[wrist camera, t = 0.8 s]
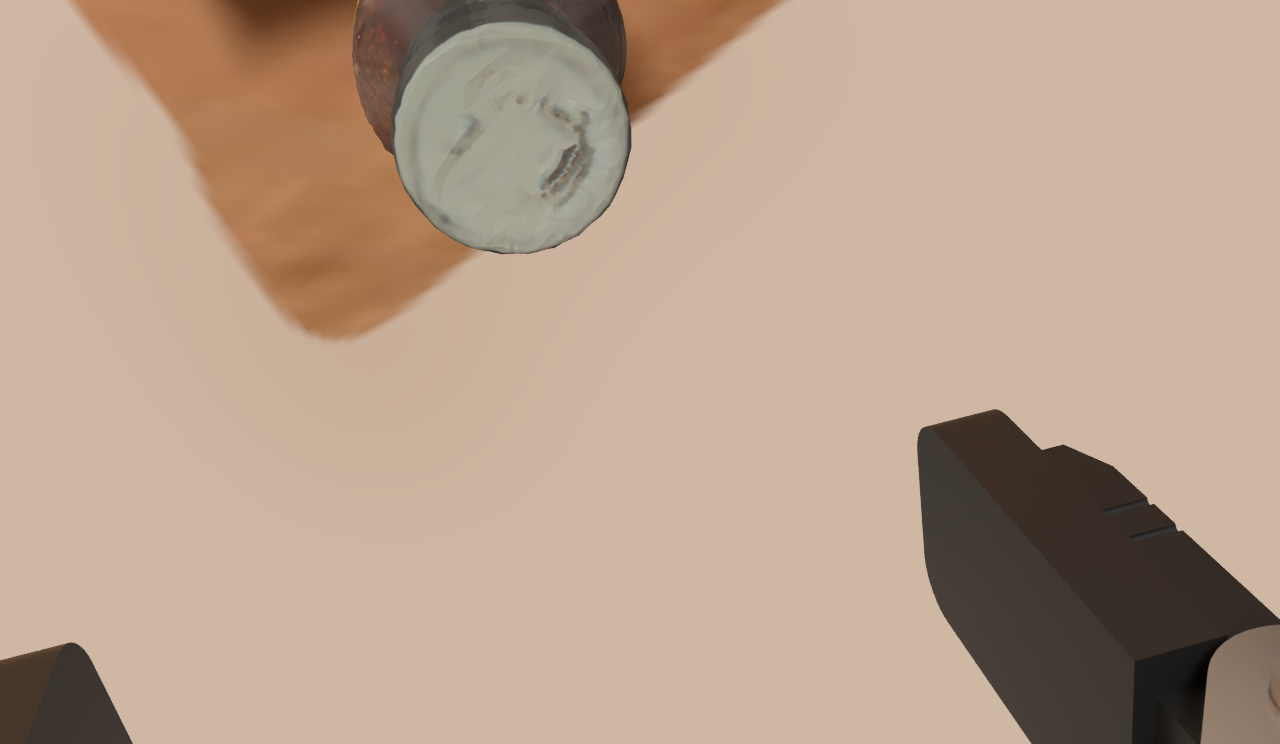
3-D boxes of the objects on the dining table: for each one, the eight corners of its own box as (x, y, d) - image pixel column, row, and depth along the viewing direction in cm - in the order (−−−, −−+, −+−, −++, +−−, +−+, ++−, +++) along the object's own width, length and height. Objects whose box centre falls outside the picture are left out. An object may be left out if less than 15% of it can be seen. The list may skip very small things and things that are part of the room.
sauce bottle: (602, 27, 39) (775, 237, 21) (435, 121, 39) (472, 403, 22) (501, -170, 36) (607, -111, 18) (321, -65, 36) (257, 90, 19)
